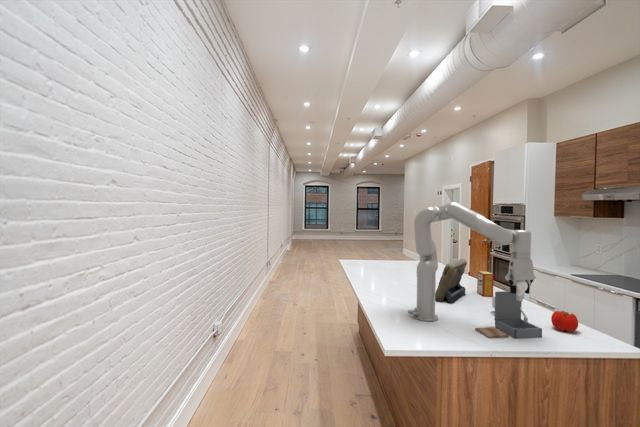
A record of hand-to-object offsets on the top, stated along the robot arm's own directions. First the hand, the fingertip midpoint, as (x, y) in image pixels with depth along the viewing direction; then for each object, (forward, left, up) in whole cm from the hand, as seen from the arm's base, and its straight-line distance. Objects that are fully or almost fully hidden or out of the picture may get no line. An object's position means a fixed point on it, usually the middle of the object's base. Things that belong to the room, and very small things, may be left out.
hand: (519, 292), depth 150 cm
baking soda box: (+29, +64, -20) cm, 73 cm away
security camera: (+9, +25, -20) cm, 33 cm away
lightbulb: (0, 0, -4) cm, 4 cm away
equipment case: (0, +1, -19) cm, 19 cm away
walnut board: (-14, +1, -19) cm, 24 cm away
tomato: (+26, +1, -20) cm, 33 cm away
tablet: (+2, +60, -20) cm, 64 cm away
